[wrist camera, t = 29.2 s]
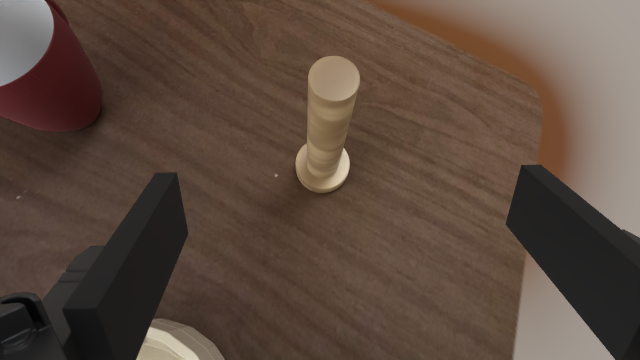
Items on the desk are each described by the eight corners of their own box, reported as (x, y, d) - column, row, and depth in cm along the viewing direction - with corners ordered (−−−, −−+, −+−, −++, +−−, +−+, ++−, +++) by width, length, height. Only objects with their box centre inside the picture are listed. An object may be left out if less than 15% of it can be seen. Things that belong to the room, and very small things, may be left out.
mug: (27, 52, 35) (-76, -41, 26) (120, 38, 36) (53, -57, 26) (27, 161, 32) (-90, 103, 23) (128, 144, 33) (57, 80, 23)
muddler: (346, 142, 34) (374, 39, 20) (349, 192, 33) (381, 117, 19) (295, 143, 34) (289, 40, 20) (296, 194, 32) (290, 119, 19)
